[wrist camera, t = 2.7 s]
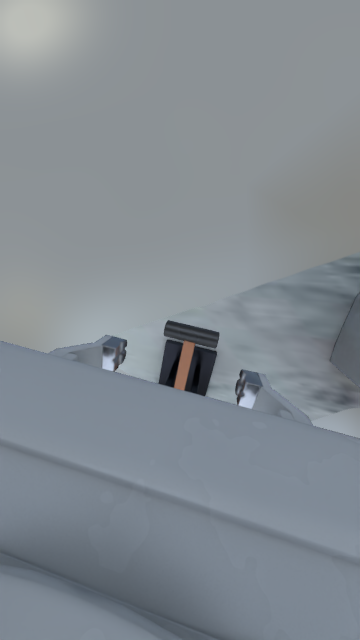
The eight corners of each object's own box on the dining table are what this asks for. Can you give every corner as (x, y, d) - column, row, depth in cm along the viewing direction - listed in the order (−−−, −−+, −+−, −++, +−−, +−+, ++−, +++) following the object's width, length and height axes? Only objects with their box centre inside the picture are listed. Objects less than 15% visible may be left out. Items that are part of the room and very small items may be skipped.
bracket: (167, 339, 34) (130, 400, 19) (216, 351, 33) (217, 426, 18) (158, 392, 38) (121, 476, 23) (201, 404, 37) (192, 500, 22)
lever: (170, 316, 19) (164, 324, 17) (219, 328, 19) (219, 338, 16) (149, 433, 24) (143, 451, 22) (187, 445, 24) (184, 464, 22)
